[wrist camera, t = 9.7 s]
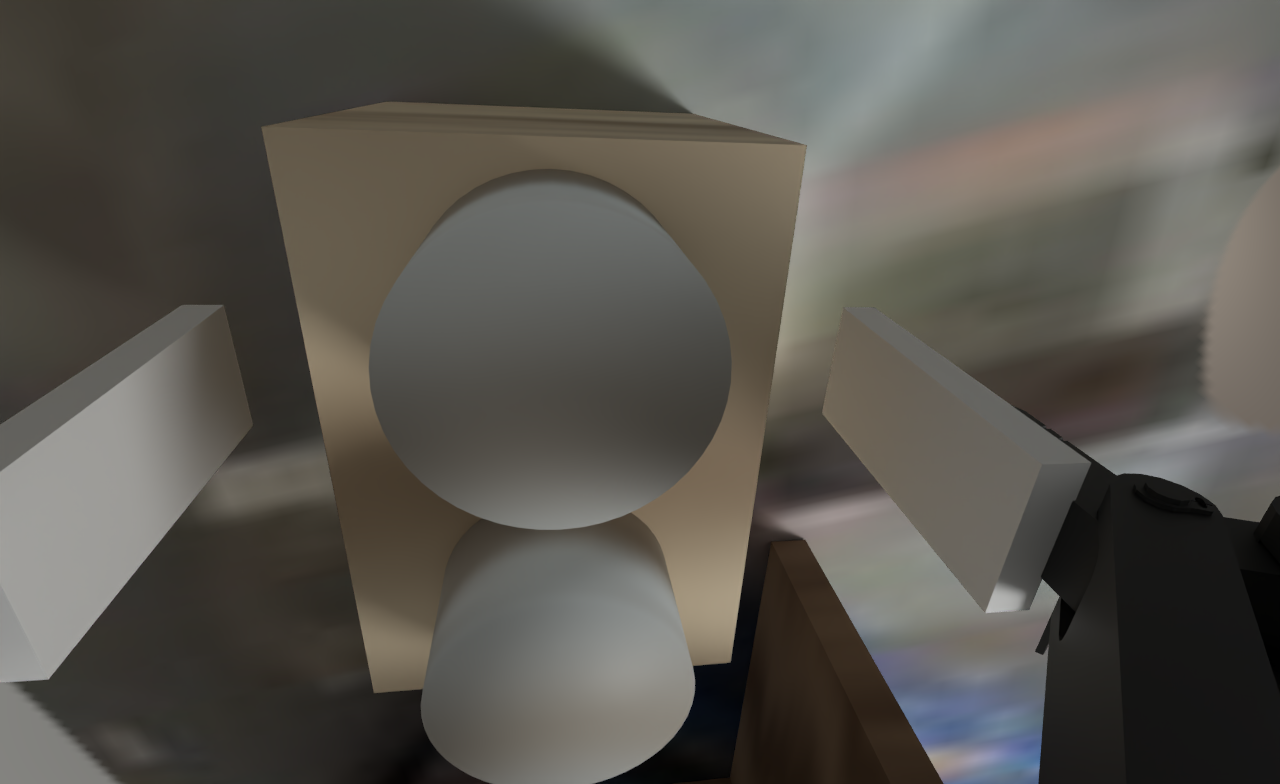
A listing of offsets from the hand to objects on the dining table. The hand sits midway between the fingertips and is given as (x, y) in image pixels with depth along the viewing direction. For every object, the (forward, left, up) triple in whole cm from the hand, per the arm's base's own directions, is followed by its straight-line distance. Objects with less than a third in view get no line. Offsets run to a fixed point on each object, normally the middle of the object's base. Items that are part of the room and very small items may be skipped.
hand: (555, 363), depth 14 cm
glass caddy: (0, 0, -3) cm, 3 cm away
